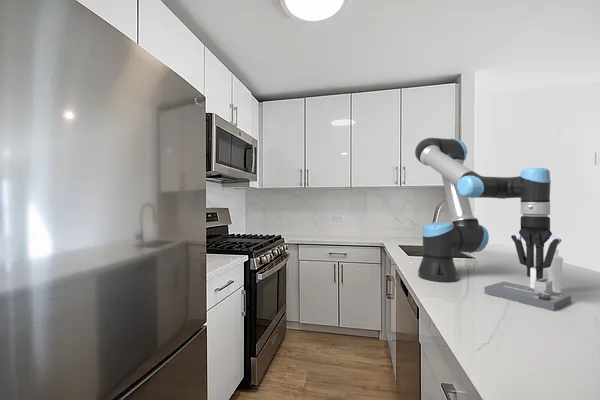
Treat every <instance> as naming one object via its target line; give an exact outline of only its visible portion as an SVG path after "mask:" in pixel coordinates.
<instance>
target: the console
mask: <svg viewBox="0 0 600 400" xmlns="http://www.w3.org/2000/svg"><path fill="white" fill-rule="evenodd" d="M483 291H484V294H485V295H488V296H492V297H497V298H500V299H501V298H502V299H505V300H509V301H513V302H516V301H517V302H516V303H521V304H524V305H528V306H533V307H536V308H541V309H544V310H548V311H552V312H555V311H557V310H560V309H562V308H564V307H566V306H568V305H570V304H572V295H569V294H565V293H556V292H552V294H548V293H542V292H539V293H538V294H535V293H534V289H533V288H530V286H527V285H522V284H517V283H513V282H508V281H500V282H496V283H493V284H489V285H486V286H484V290H483Z"/></svg>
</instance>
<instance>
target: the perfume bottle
mask: <svg viewBox="0 0 600 400" xmlns="http://www.w3.org/2000/svg"><path fill="white" fill-rule="evenodd" d="M563 261H564V258H563V257H561V256H560V255H559V249H556V251H555V254H554V257H553V260H552V263H551V266H550V267H548V268H546V269H547V277H548V278H547V280H549V281H552V292H556V293H561V294H563V292H562V290H561V287H562V286H561V285H562V272H563Z"/></svg>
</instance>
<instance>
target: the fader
mask: <svg viewBox="0 0 600 400" xmlns="http://www.w3.org/2000/svg"><path fill="white" fill-rule="evenodd" d="M539 292H542V293H548V294H552V281H549V280H548V278H547V279H546V278H544V279H543V278H542V279H539V280H536V281H534V293H535V294H538V293H539Z"/></svg>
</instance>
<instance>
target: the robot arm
mask: <svg viewBox="0 0 600 400" xmlns="http://www.w3.org/2000/svg"><path fill="white" fill-rule="evenodd" d="M414 153H415V154H414V156H415V158H416V159H417V161H418V162H419V163H421V164H422V165H424V166H426V167H427V166H429V167H430V168H432V169H433V170H434V171H436V172H437V173H439V174H440V175H441V178H442V183H443V188H444V193H445V197H446V203H447V206H448V211H449V216H450V220H449V221H435V222H428V223H426V224H425V225H424V226H423V228H422V234H421V235H422V259H421V262H420V265H419V267H418V270H417V272H418V273H417V274H418V277H419V278H421V279H424V280H428V281H433V282H440V283H451V282H452V283H454V282H457V281H458V280H459V279H458V278H459V275H458V271H457V268H456V266H455V262H454V253H469V254H473V253H478V252H482V251H483V250H485V249H486V248H487V245H488V244H489V239H490V238H489V232H488V229H487V228H486V227H484V226H483V225H481V224H480V223H479V219H478V218H477V217H475V216H474V215H473V212H472V211H473V210H472V208H471V207H472V206H471V203H470V199H469V198H471V199H475V198H477V199H478V198H481V199H482V198H485V199H486V198H489V199H503V200H505V199H517V198H518V199H520V214H521V216H520V228H519V230H518V233H516V234H512V235H511V236H510V238H511V239H512V241H513V242H514V245H515V249H516V253H517V256H518V260H519V264H520V265H523V266H525V267H526V276H527V277H528V278H530V280H529V281H530V283H529V285H530V286H529V287H530V288H533V289H534V281H536V280H539V279H543V277H544V269H547V268H548V267H550V266H551V263H552V260H553V257H554V254H555V251H556V250H557V247H558V245H559V244H560V243H561V242H562V239H561V238H558V237H556V236H554V235H553V233H552V231H551V217H549V216H550V215H551V200H550V198H551V197H550V196H551V182H552V180H551V175H550V173H551V172H550V170H549V169H548V168H545V167H532V168H524V169H521V171H520V174H519V176H509V177H507V176H505V177H504V176H501V177H500V176H483V175H480V174H479V173H477V172H475V171H474V170H472V169H470V168H469V167H468V166H466V165H464V163H465V162H464V161H466V158H467V155H468V149H467V146H466V143H464V142H463V141H462V140H460V139H456V138H438V137H428V138H424V139H422V140H421V141H419V142H418V143H417V145H416V147H415V149H414ZM522 239H523V240H524V241H525V246H526V247H524V244H523V242H522ZM547 241H549V243H550V244H549V245H548V248H547V252H546V255H544V254H545V253H544V252H545V251H544V250H545V249H544V248H545V244H546V242H547ZM525 248H526V251H525Z"/></svg>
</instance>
